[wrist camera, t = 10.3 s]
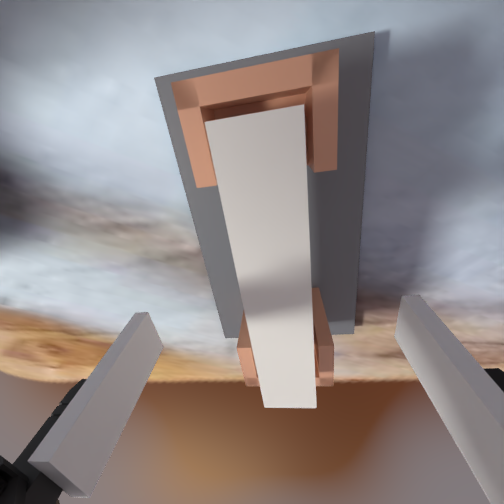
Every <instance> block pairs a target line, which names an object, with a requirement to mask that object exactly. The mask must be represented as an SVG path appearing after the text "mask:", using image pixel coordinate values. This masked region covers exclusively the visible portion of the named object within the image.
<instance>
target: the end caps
mask: <svg viewBox="0 0 504 504" xmlns="http://www.w3.org/2000/svg"><path fill="white" fill-rule="evenodd" d="M374 36H375V31H374V32H369V33H364V34H360V35H355V36H350V37H346V38H341V39H336V40H331V41H327V42H322V43H317V44H312V45H308V46H303V47H298V48H293V49H289V50H284V51H279V52H274V53H270V54H265V55H260V56H255V57H251V58H246V59H241V60H236V61H232V62H227V63H222V64H217V65H213V66H208V67H203V68H198V69H194V70H189V71H184V72H179V73H175V74H170V75H165V76H160V77H156V78H154V79H155V82H156V86H157V90H158V93H159V97H160V101H161V104H162V108H163V112H164V115H165V119H166V123H167V126H168V130H169V134H170V137H171V141H172V145H173V148H174V152H175V156H176V159H177V163H178V167H179V170H180V174H181V178H182V181H183V185H184V189H185V192H186V196H187V200H188V203H189V207H190V211H191V214H192V218H193V222H194V225H195V229H196V233H197V236H198V240H199V244H200V247H201V251H202V255H203V258H204V262H205V266H206V269H207V273H208V277H209V280H210V284H211V288H212V291H213V295H214V299H215V302H216V306H217V310H218V313H219V317H220V321H221V324H222V328H223V332H224V335H225V338H238V344H237V351H238V355H239V359H240V363H241V367H242V371H243V375H244V379H245V383H246V386H260V383H259V379H258V374H257V369H256V364H255V360H254V355H253V350H252V345H251V341H250V336H249V331H248V326H247V322H246V317H245V312H244V307H243V303H242V298H241V293H240V288H239V284H238V279H237V274H236V269H235V265H234V260H233V255H232V250H231V246H230V241H229V236H228V231H227V227H226V222H225V217H224V212H223V208H222V203H221V198H220V193H219V189H218V184H217V179H216V174H215V169H214V165H213V160H212V155H211V150H210V146H209V141H208V136H207V131H206V127H205V122H207V121H213V120H218V119H224V118H230V117H235V116H241V115H247V114H252V113H258V112H263V111H269V110H275V109H280V108H286V107H292V106H297V105H303V104H304V115H305V139H306V164H307V188H308V212H309V237H310V261H311V286H312V310H313V334H314V359H315V383H316V386H333V376H334V344H333V340H332V336H331V335H336V334H354V326H355V311H356V297H357V282H358V268H359V253H360V239H361V224H362V210H363V195H364V181H365V166H366V152H367V137H368V123H369V108H370V94H371V79H372V65H373V50H374Z"/></svg>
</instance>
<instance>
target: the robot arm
mask: <svg viewBox="0 0 504 504" xmlns="http://www.w3.org/2000/svg"><path fill="white" fill-rule="evenodd" d="M394 337H395V339H396V341H397V342H398V344H399V346H400V348H401V349H402V351H403V353H404V354H405V356H406V358H407V360H408V361H409V363H410V365H411V367H412V368H413V370H414V372H415V373H416V375H417V377H418V379H419V380H420V382H421V384H422V386H423V387H424V389H425V391H426V393H427V394H428V396H429V398H430V399H431V401H432V403H433V405H434V406H435V408H436V410H437V412H438V413H439V415H440V417H441V418H442V420H443V422H444V424H445V425H446V427H447V429H448V430H449V432H450V434H451V436H452V437H453V439H454V441H455V443H456V444H457V446H458V448H459V449H460V451H461V453H462V455H463V457H464V458H465V460H466V462H467V463H468V465H469V467H470V469H471V470H472V472H473V474H474V476H475V477H476V479H477V481H478V483H479V484H480V486H481V488H482V489H483V491H484V493H485V495H486V496H487V498H488V500H489V502H490V503H491V504H504V372H503V371H502V370H500V369H499V368H493V369H483V368H482V367H481V366H480V364H479V363H478V362H477V361H476V360H475V359H474V358H473V356H472V355H471V354H470V353H469V352H468V351H467V349H466V348H465V347H464V346H463V345H462V344H461V343H460V341H459V340H458V339H457V338H456V337H455V336H454V334H453V333H452V332H451V331H450V330H449V329H448V328H447V326H446V325H445V324H444V323H443V322H442V321H441V319H440V318H439V317H438V316H437V315H436V314H435V313H434V311H433V310H432V309H431V308H430V307H429V306H428V305H427V303H426V302H425V301H424V300H423V299H422V298H421V296H420V295H407V296H402V298H401V303H400V309H399V314H398V320H397V325H396V331H395V336H394ZM163 347H164V346H163V344H162V342H161V340H160V337H159V335H158V333H157V331H156V329H155V326H154V324H153V322H152V320H151V318H150V315H149V313H148V312H142V313H135V314H134V315H133V317H132V318H131V320H130V321H129V322H128V324H127V325H126V326H125V328H124V329H123V331H122V332H121V333H120V335H119V336H118V337H117V339H116V340H115V341H114V343H113V344H112V346H111V347H110V348H109V350H108V351H107V352H106V354H105V355H104V357H103V358H102V359H101V361H100V362H99V363H98V365H97V366H96V368H95V369H94V370H93V372H92V373H91V374H90V376H89V377H88V379H82V380H81V381H79V382H78V383H77V384H76V385H75V386H74V387H73V388H72V389H71V390H70V391H69V392H68V393H67V394H66V396H65V397H64V398H63V400H62V401H61V402H60V405H59V406H57V407H56V409H55V410H54V411H53V413H52V414H51V417H49V418H48V419H47V421H46V422H45V423H44V424H43V426H42V427H41V428H40V430H39V431H38V432H37V434H36V435H35V436H34V438H33V439H32V440H31V441H30V443H29V444H28V445H27V447H26V448H25V449H24V451H23V452H22V453H21V455H20V456H19V457H18V458H17V460H16V461H15V462H14V463H13V464H11V463H10V462H8V461H7V460H6V459H4V458H3V457H2V456H0V504H60V503H59V500H58V498H59V496H60V494H61V492H62V491H65V492H66V493H67V494H68V495H69V496H71V497H83V498H90V496H91V494H92V492H93V490H94V488H95V486H96V484H97V482H98V480H99V478H100V476H101V474H102V472H103V470H104V467H105V466H106V463H107V461H108V459H109V458H110V455H111V453H112V451H113V449H114V447H115V445H116V443H117V441H118V439H119V437H120V435H121V433H122V431H123V429H124V427H125V425H126V423H127V420H128V419H129V417H130V414H131V412H132V410H133V408H134V406H135V404H136V402H137V400H138V398H139V396H140V394H141V392H142V390H143V388H144V386H145V384H146V382H147V380H148V378H149V376H150V374H151V372H152V370H153V368H154V366H155V364H156V361H157V359H158V357H159V355H160V353H161V351H162V349H163Z"/></svg>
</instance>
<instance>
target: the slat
mask: <svg viewBox="0 0 504 504" xmlns="http://www.w3.org/2000/svg"><path fill="white" fill-rule="evenodd" d="M205 127H206V131H207V136H208V141H209V146H210V150H211V155H212V160H213V165H214V169H215V174H216V179H217V184H218V189H219V193H220V198H221V203H222V208H223V212H224V217H225V222H226V227H227V231H228V236H229V241H230V246H231V250H232V255H233V260H234V265H235V269H236V274H237V279H238V284H239V288H240V293H241V298H242V303H243V307H244V312H245V317H246V322H247V326H248V331H249V336H250V341H251V345H252V350H253V355H254V360H255V364H256V369H257V374H258V379H259V383H260V388H261V393H262V396H263V402H264V407H265V408H266V407H267V408H316V383H315V359H314V334H313V310H312V286H311V261H310V237H309V212H308V188H307V164H306V139H305V115H304V104H303V105H297V106H292V107H286V108H280V109H275V110H269V111H263V112H258V113H252V114H247V115H241V116H235V117H230V118H224V119H218V120H213V121H207V122H205Z"/></svg>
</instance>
